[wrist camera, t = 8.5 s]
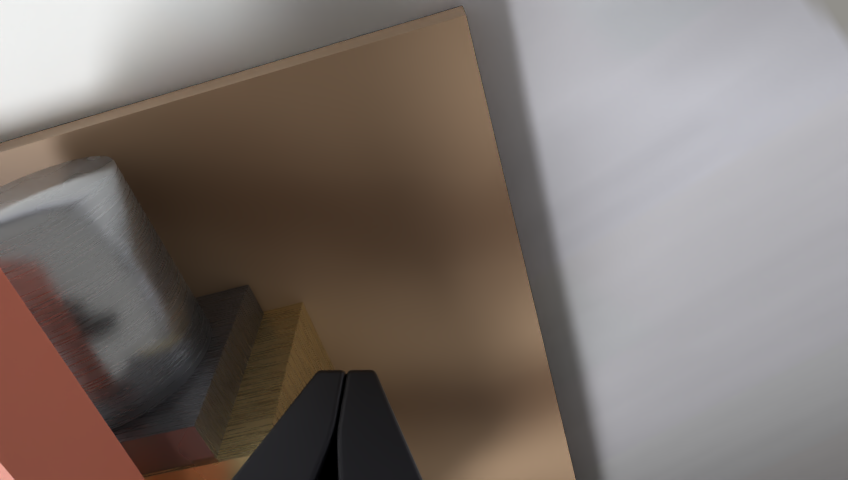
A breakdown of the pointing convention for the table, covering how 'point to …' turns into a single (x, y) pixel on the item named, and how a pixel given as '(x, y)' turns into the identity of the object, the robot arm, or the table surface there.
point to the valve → (150, 325)
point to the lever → (48, 409)
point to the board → (355, 228)
